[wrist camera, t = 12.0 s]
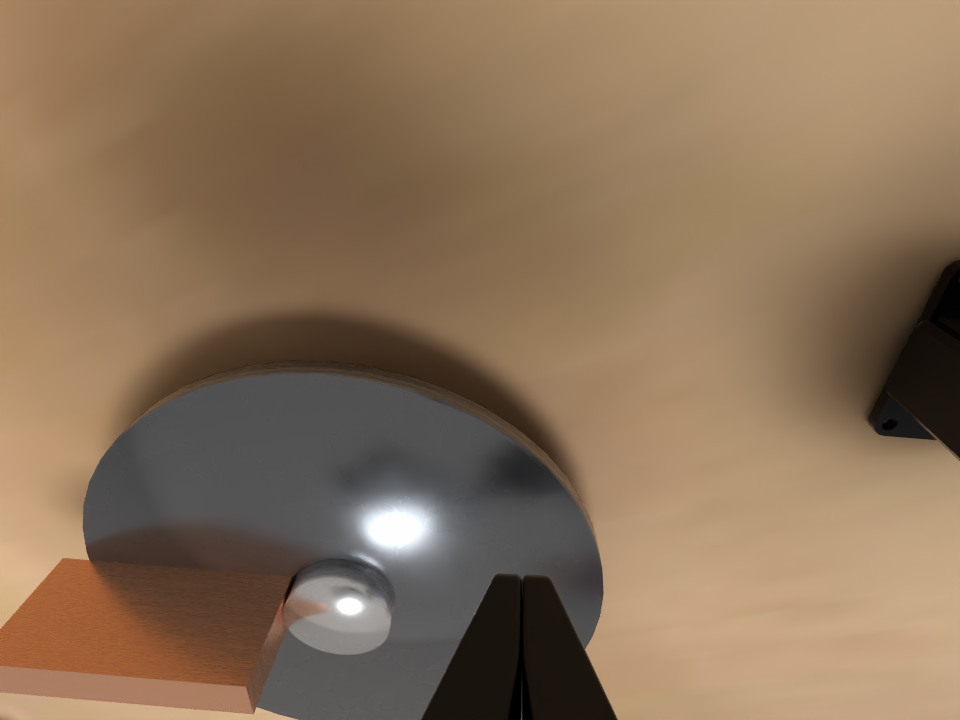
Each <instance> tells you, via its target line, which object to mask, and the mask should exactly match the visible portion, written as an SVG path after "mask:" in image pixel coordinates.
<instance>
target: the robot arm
mask: <svg viewBox="0 0 960 720" xmlns="http://www.w3.org/2000/svg"><path fill="white" fill-rule="evenodd" d="M959 278H960V260H958V261H955V262H953V263H952V264H950V265H949V266H948V267H947V268H946V269H945V270H944V272H943V273H942V275H941V277H940V279H939V281H938V283H937V285H936V287H935V289H934V291H933V293H932V295H931V297H930V299H929V301H928V303H927V305H926V307H925V308H924V310H923V312H922V314H921V316H920V318H919V320H918V322H917V324H916V326H915V328H914V330H913V332H912V334H911V336H910V338H909V340H908V342H907V344H906V346H905V348H904V350H903V352H902V354H901V355H900V357H899V359H898V361H897V363H896V365H895V367H894V369H893V371H892V373H891V375H890V377H889V379H888V381H887V383H886V385H885V387H884V389H883V391H882V393H881V395H880V397H879V399H878V401H877V402H876V404H875V406H874V408H873V410H872V412H871V414H870V416H869V419H868V422H869V425H870V426H871V427H872V428H873V429H874V431H875V432H877V433H878V434H879V435H883V436H894V437H906V438H918V439H930V440H938V441H939V442H940V443H941V444H942V445H943V446H944V447H945V448H946V449H947V450H949V451H950V452H951V453H952V454H953V455H954V456H955V457H956V458H957V459H958V460H959V461H960V281H959ZM888 419H889V421H887V422H885V423H884V421H886V420H888ZM521 718H522V720H618V719H617V717H616V715H615V713H614V711H613V708H612V706H611V704H610V702H609V700H608V698H607V696H606V694H605V691H604V689H603V687H602V685H601V683H600V681H599V679H598V677H597V674H596V672H595V670H594V668H593V666H592V664H591V662H590V660H589V657H588V655H587V653H586V651H585V649H584V647H583V645H582V643H581V640H580V638H579V636H578V634H577V632H576V630H575V628H574V626H573V623H572V621H571V619H570V617H569V615H568V613H567V611H566V609H565V606H564V604H563V602H562V600H561V598H560V596H559V594H558V592H557V589H556V587H555V585H554V583H553V581H552V580H551V578H550V577H549V576H546V575H525V576H524V577H523V580H522V578H521V576H520V575H518V574H496V575H495V576H494V577H493V579H492V580H491V582H490V584H489V586H488V588H487V590H486V592H485V594H484V596H483V598H482V600H481V602H480V604H479V606H478V608H477V610H476V612H475V614H474V616H473V618H472V620H471V622H470V624H469V626H468V628H467V630H466V632H465V633H464V635H463V637H462V639H461V641H460V643H459V645H458V647H457V649H456V651H455V653H454V655H453V657H452V659H451V661H450V663H449V665H448V667H447V669H446V671H445V673H444V675H443V677H442V679H441V681H440V683H439V685H438V687H437V689H436V691H435V692H434V694H433V696H432V698H431V700H430V702H429V704H428V706H427V708H426V710H425V712H424V714H423V716H422V718H421V720H521Z"/></svg>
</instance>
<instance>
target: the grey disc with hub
mask: <svg viewBox="0 0 960 720" xmlns="http://www.w3.org/2000/svg"><path fill="white" fill-rule="evenodd" d="M83 532H84V538H85V544H86V550H87V554H88V557H89V560H80V559H68V558H63V559H62V560H61V561H60V562H59V563H58V565H57V566H56V567H55V568H54V569H53V570H52V571H51V573H50V574H49V575H48V576H47V577H46V578H45V579H44V580H43V582H42V583H41V584H40V585H39V586H38V587H37V588H36V590H35V591H34V592H33V593H32V594H31V595H30V596H29V597H28V599H27V600H26V601H25V602H24V603H23V604H22V605H21V607H20V608H19V609H18V610H17V611H16V612H15V613H14V614H13V616H12V617H11V618H10V619H9V620H8V621H7V622H6V624H5V625H4V626H3V627H2V628H1V629H0V692H3V693H15V694H26V695H38V696H49V697H61V698H72V699H84V700H95V701H107V702H118V703H130V704H142V705H153V706H165V707H176V708H188V709H199V710H211V711H222V712H234V713H245V714H254V712H255V709H256V707H258V708H261V709H264V710H267V711H270V712H273V713H276V714H279V715H283V716H287V717H291V718H295V719H299V720H421V718H422V716H423V714H424V712H425V710H426V708H427V706H428V704H429V702H430V700H431V698H432V696H433V694H434V692H435V691H436V689H437V687H438V685H439V683H440V681H441V679H442V677H443V675H444V673H445V671H446V669H447V667H448V665H449V663H450V661H451V659H452V657H453V655H454V653H455V651H456V649H457V647H458V645H459V643H460V641H461V639H462V637H463V635H464V633H465V632H466V630H467V628H468V626H469V624H470V622H471V620H472V618H473V616H474V614H475V612H476V610H477V608H478V606H479V604H480V602H481V600H482V598H483V596H484V594H485V592H486V590H487V588H488V586H489V584H490V582H491V580H492V579H493V577H494V576H495V575H496V574H518V575H520V576H521V578H522V580H523V577H524V576H525V575H546V576H549V577H550V578H551V580H552V581H553V583H554V585H555V587H556V589H557V592H558V594H559V596H560V598H561V600H562V602H563V604H564V606H565V609H566V611H567V613H568V615H569V617H570V619H571V621H572V623H573V626H574V628H575V630H576V632H577V634H578V636H579V638H580V640H581V643H582V645H583V647H584V649H585V648H586V646H587V645H588V643H589V641H590V640H591V638H592V636H593V634H594V631H595V628H596V625H597V623H598V620H599V617H600V613H601V606H602V600H603V575H602V565H601V559H600V554H599V548H598V544H597V540H596V536H595V532H594V528H593V524H592V522H591V519H590V517H589V515H588V513H587V510H586V508H585V506H584V504H583V501H582V499H581V498H580V496H579V495H578V493H577V492H576V490H575V489H574V487H573V486H572V484H571V483H570V481H569V480H568V478H567V477H566V475H565V474H564V473H563V472H562V471H561V469H560V468H559V467H558V466H557V465H556V464H555V463H554V462H553V461H552V459H551V458H550V457H549V456H548V455H547V454H546V453H545V452H544V451H543V450H542V449H541V448H540V447H539V446H537V445H536V444H535V443H534V442H533V441H532V440H530V439H529V438H528V437H527V436H526V435H524V434H523V433H522V432H521V431H520V430H519V429H517V428H516V427H514V426H513V425H511V424H510V423H508V422H507V421H505V420H504V419H502V418H501V417H499V416H497V415H496V414H494V413H493V412H491V411H490V410H488V409H487V408H485V407H483V406H481V405H479V404H477V403H475V402H473V401H471V400H469V399H467V398H465V397H463V396H461V395H459V394H457V393H455V392H453V391H451V390H448V389H445V388H442V387H440V386H437V385H434V384H431V383H428V382H426V381H423V380H420V379H417V378H415V377H412V376H408V375H403V374H399V373H395V372H391V371H387V370H383V369H379V368H375V367H369V366H361V365H354V364H346V363H338V362H323V361H286V362H276V363H267V364H257V365H250V366H246V367H242V368H237V369H233V370H229V371H225V372H220V373H216V374H214V375H211V376H209V377H206V378H204V379H201V380H198V381H196V382H193V383H191V384H188V385H186V386H184V387H182V388H180V389H179V390H177V391H175V392H173V393H172V394H170V395H168V396H166V397H165V398H163V399H161V400H160V401H158V402H157V403H156V404H154V405H153V406H152V407H151V408H150V409H148V410H147V411H146V412H145V413H144V414H143V415H141V416H140V417H139V418H138V419H137V420H136V421H134V422H133V423H132V424H131V425H130V426H129V427H128V428H127V429H126V430H125V431H124V432H123V433H122V434H121V435H120V436H119V437H118V438H117V440H116V441H115V442H114V443H113V445H112V446H111V447H110V448H109V450H108V451H107V452H106V453H105V455H104V456H103V457H102V458H101V460H100V462H99V464H98V466H97V468H96V470H95V472H94V474H93V476H92V478H91V480H90V482H89V486H88V490H87V494H86V498H85V502H84V513H83Z"/></svg>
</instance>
